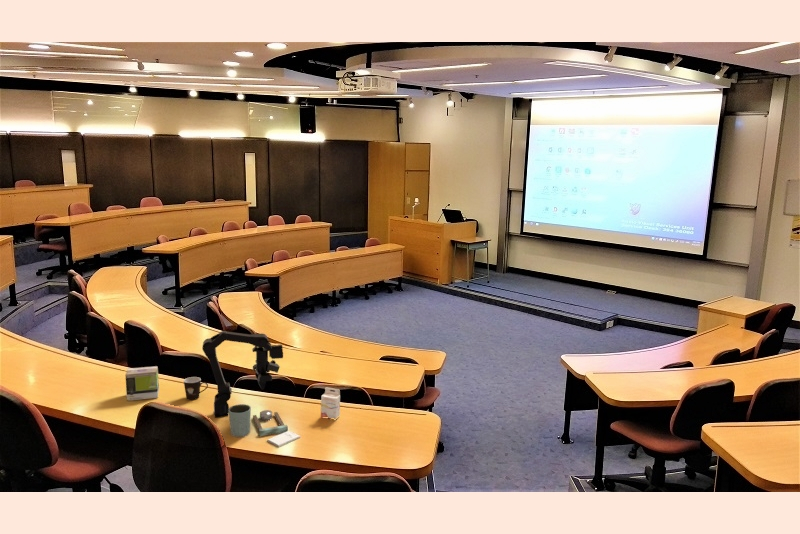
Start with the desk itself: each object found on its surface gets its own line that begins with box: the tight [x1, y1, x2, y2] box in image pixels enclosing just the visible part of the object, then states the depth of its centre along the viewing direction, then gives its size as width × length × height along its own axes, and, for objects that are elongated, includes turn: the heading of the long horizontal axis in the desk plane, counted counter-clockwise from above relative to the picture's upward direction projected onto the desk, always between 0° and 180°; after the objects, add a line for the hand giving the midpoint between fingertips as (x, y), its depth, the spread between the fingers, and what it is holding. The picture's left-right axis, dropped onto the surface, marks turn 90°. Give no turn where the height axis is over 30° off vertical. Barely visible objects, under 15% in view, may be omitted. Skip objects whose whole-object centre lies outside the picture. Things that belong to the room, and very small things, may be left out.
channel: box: [252, 411, 289, 437], centre depth 274 cm, size 13×20×2 cm, turn 25°
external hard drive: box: [266, 430, 301, 448], centre depth 260 cm, size 2×8×12 cm
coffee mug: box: [183, 376, 209, 401], centre depth 301 cm, size 12×9×10 cm
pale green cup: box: [228, 403, 252, 438], centre depth 264 cm, size 10×10×12 cm
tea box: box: [125, 365, 160, 401], centre depth 301 cm, size 15×10×15 cm
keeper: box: [259, 409, 273, 422], centre depth 281 cm, size 6×6×3 cm
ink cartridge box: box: [320, 387, 341, 419], centre depth 283 cm, size 9×5×15 cm, turn 74°
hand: (262, 388), depth 287 cm, fingers open, 2 cm apart
